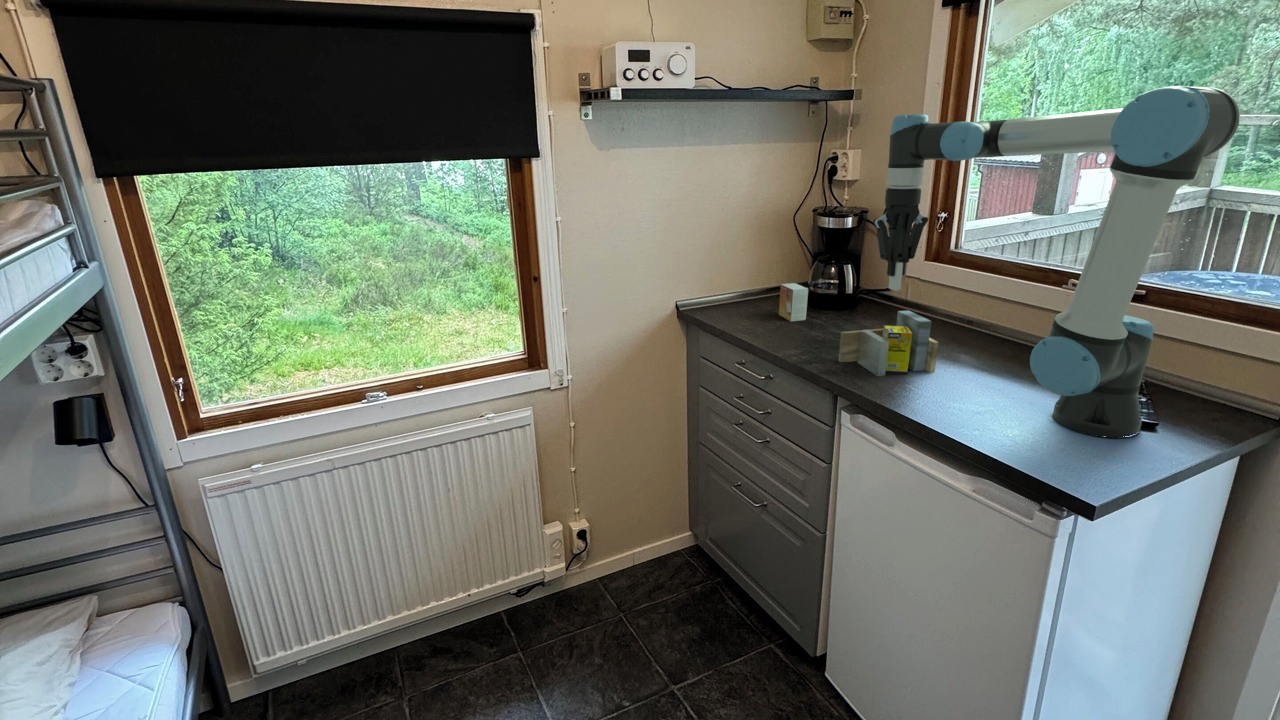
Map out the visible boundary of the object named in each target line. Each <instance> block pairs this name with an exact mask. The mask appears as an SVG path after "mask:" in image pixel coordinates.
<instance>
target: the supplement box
mask: <svg viewBox="0 0 1280 720" xmlns="http://www.w3.org/2000/svg"><path fill="white" fill-rule="evenodd" d="M882 329H883V336H882V338H884V339H886V340H887V341H889V345H888V354H887V362H886V371H885V374H886V375H887V374H890V375H908V372H909V371H908V369H909V368H908V363H909V355H910V347H911V340H912V332H911V331H910V329H909V328H908V327H906V326H896V325H883V328H882Z"/></svg>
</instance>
